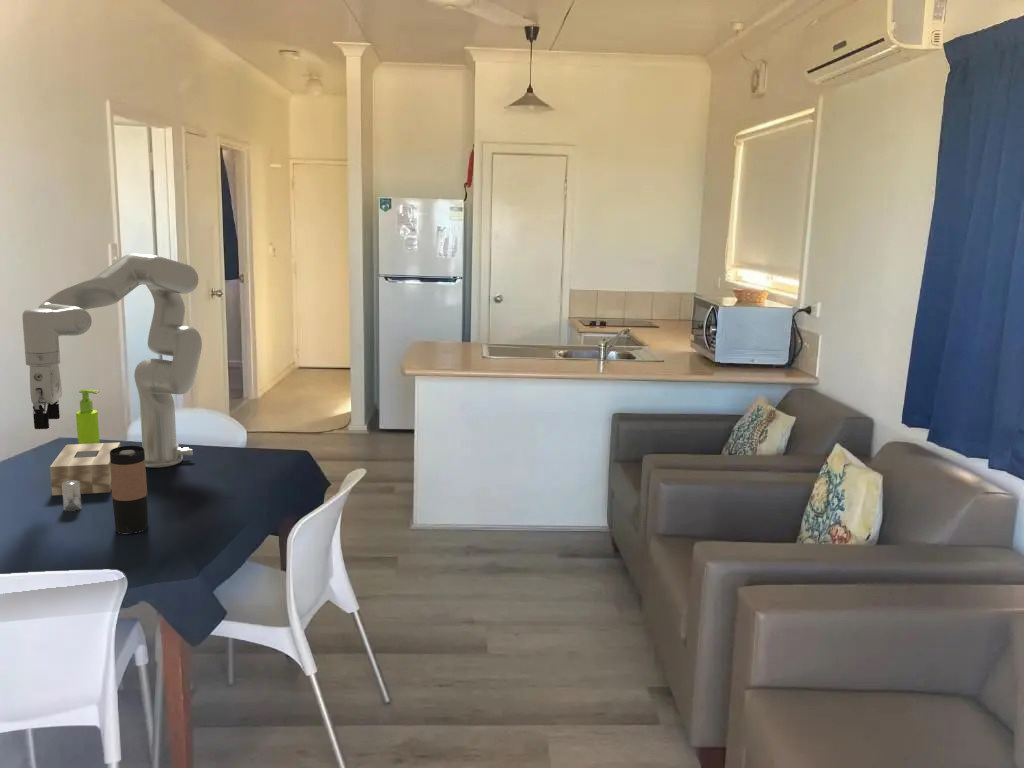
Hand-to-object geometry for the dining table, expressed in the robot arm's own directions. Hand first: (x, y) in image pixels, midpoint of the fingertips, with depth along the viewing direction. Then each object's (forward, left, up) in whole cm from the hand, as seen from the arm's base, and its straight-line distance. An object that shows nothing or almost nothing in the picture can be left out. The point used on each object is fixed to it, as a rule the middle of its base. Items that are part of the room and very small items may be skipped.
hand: (47, 423), depth 207 cm
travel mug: (-22, +23, -21) cm, 38 cm away
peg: (-6, +7, -21) cm, 23 cm away
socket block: (-6, -14, -21) cm, 26 cm away
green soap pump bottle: (-2, -41, -21) cm, 46 cm away
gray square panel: (-6, -14, -14) cm, 21 cm away
